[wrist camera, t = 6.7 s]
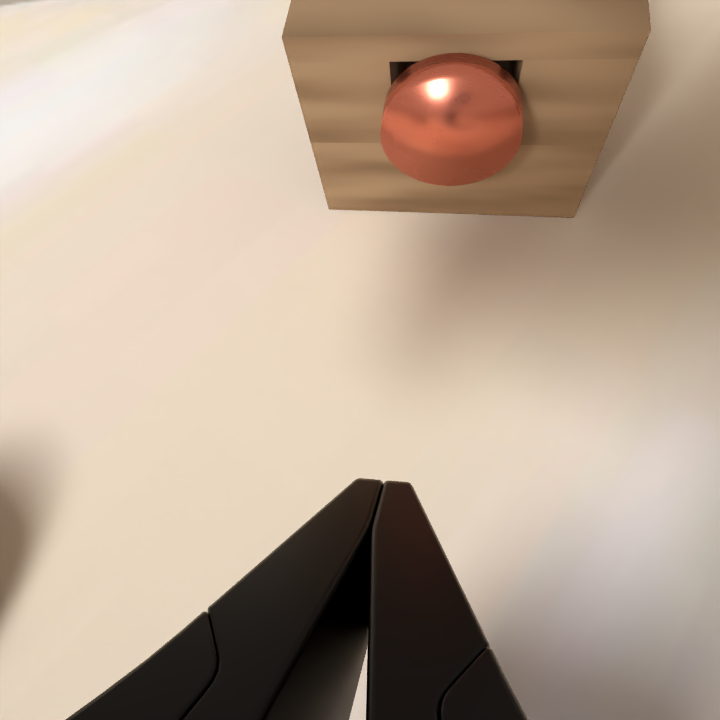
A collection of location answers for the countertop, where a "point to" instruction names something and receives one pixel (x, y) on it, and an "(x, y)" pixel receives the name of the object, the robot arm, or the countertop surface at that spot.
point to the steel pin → (452, 119)
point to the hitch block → (478, 37)
